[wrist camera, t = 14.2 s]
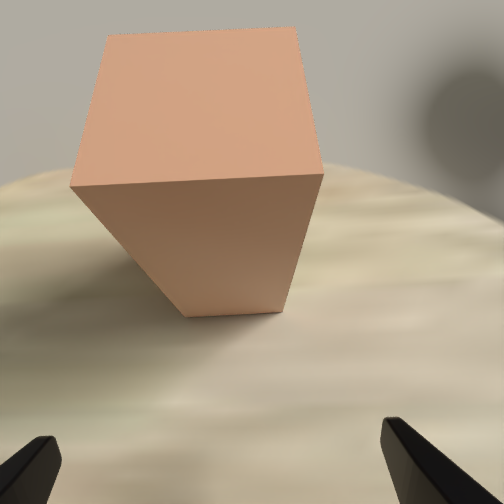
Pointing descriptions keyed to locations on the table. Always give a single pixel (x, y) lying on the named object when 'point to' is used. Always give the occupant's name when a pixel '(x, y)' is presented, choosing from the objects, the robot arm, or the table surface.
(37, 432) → the table surface
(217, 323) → the table surface
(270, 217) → the peach colored post
